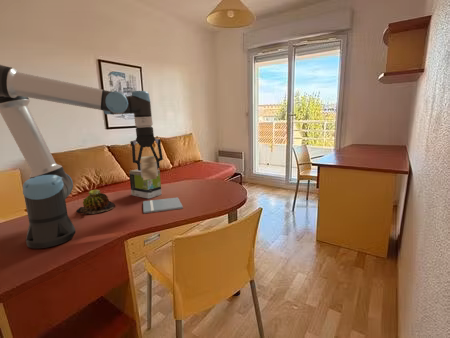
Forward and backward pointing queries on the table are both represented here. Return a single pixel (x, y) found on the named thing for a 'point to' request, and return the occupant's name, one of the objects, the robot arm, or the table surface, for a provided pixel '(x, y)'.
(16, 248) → the table surface
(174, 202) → the board
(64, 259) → the table surface
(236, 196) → the table surface
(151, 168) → the beech block
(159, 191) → the tea box
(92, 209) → the cactus
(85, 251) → the table surface
